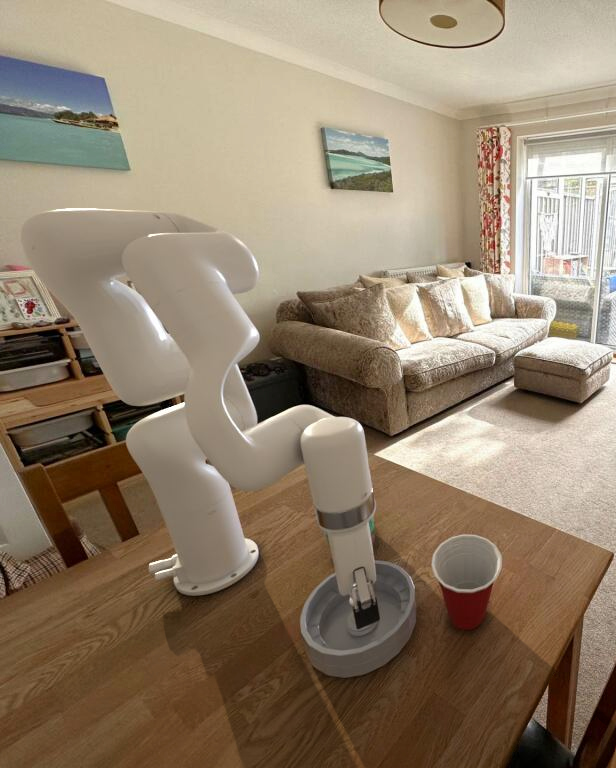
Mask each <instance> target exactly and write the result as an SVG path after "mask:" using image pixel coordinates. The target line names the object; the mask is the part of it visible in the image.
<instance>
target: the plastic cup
mask: <svg viewBox="0 0 616 768" xmlns="http://www.w3.org/2000/svg"><path fill="white" fill-rule="evenodd" d="M431 569H432V572H433V576H434V578H435V580H437V582H438V584H439V587H440V591H441V594H442V599H443V602H444V604H445V605H444V606H445V608H446V611H447V614H448V618H449V620H450V622H451V624H452V625H453V626H454V627H455V628H456V629H460V630H461V631H470V630H473V629H475V628H477V627H478V626H479V625H481V623H482V622H483V620H484V618H485V616H486V613H487V609H488V605H489V602H490V598H491V595H492V591H493V587H494V583H495V582H496V581H497V579H498V577H499V575H500V573H501V571H502V569H503V556H502V554H501V552H500V550H499V548H498V546H497V545H495V544H494V543H493V542H492V541H491V540H489V539H488V538H485V537H483V536H480V535H479V534H478V535H477V534H467V533H466V534H465V533H463V534H459V535H455V536H451V537H449V538H448V539H446V540H444V541H443V542H442V543H440V544H439V545H438V547H437V548H436V549H435V551H434V552H433V554H432V560H431Z"/></svg>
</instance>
